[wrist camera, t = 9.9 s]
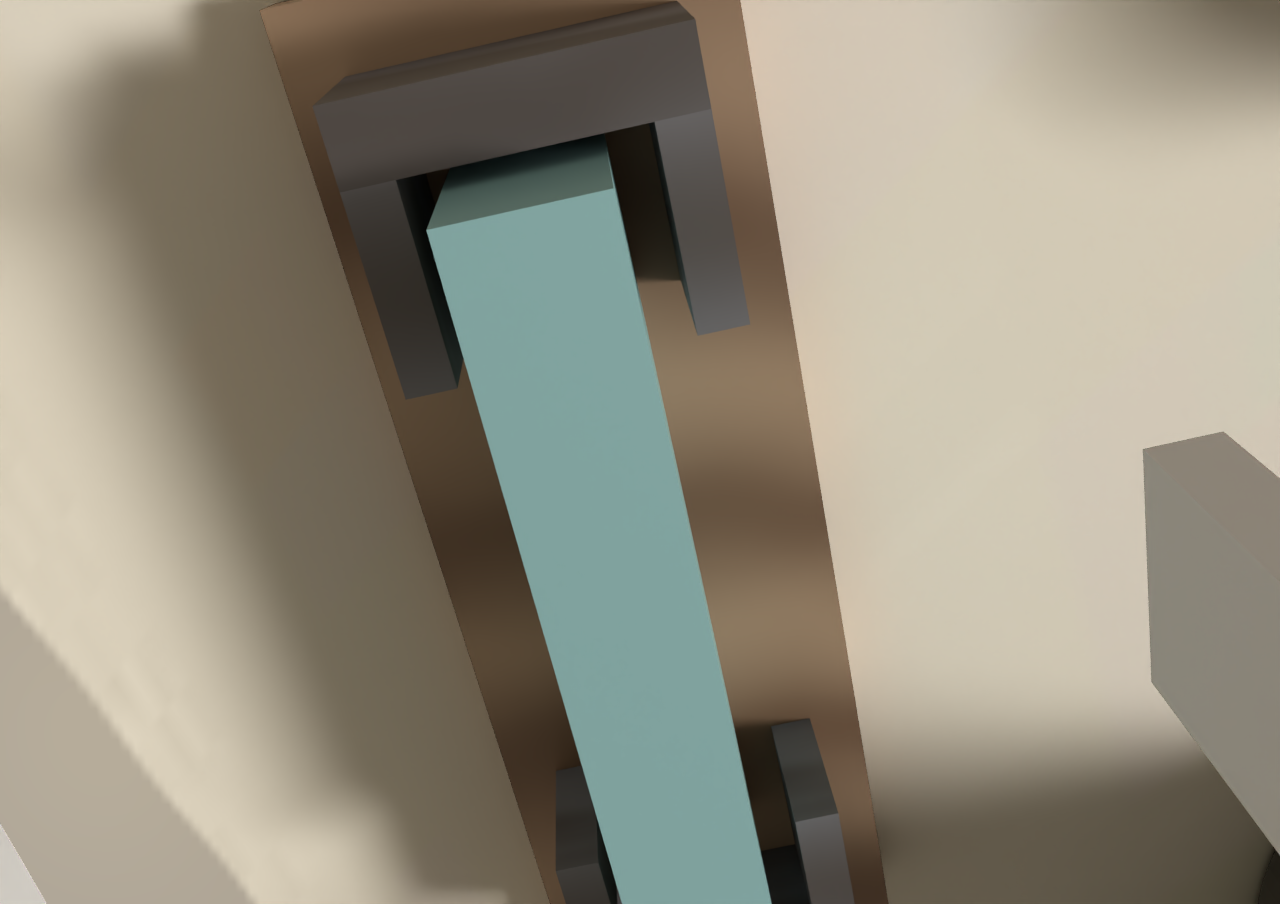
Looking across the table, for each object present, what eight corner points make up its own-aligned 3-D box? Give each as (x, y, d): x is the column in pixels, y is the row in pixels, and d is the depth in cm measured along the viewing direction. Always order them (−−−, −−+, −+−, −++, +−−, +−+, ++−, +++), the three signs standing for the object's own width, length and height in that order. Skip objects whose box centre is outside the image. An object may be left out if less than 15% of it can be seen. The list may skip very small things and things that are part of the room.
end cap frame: (876, 869, 35) (923, 1014, 31) (572, 931, 36) (574, 1083, 31) (715, -98, 24) (750, -95, 20) (276, 3, 25) (211, 30, 20)
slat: (751, 805, 32) (790, 993, 27) (639, 828, 32) (656, 1019, 27) (601, 120, 24) (614, 188, 19) (455, 153, 25) (426, 230, 19)
